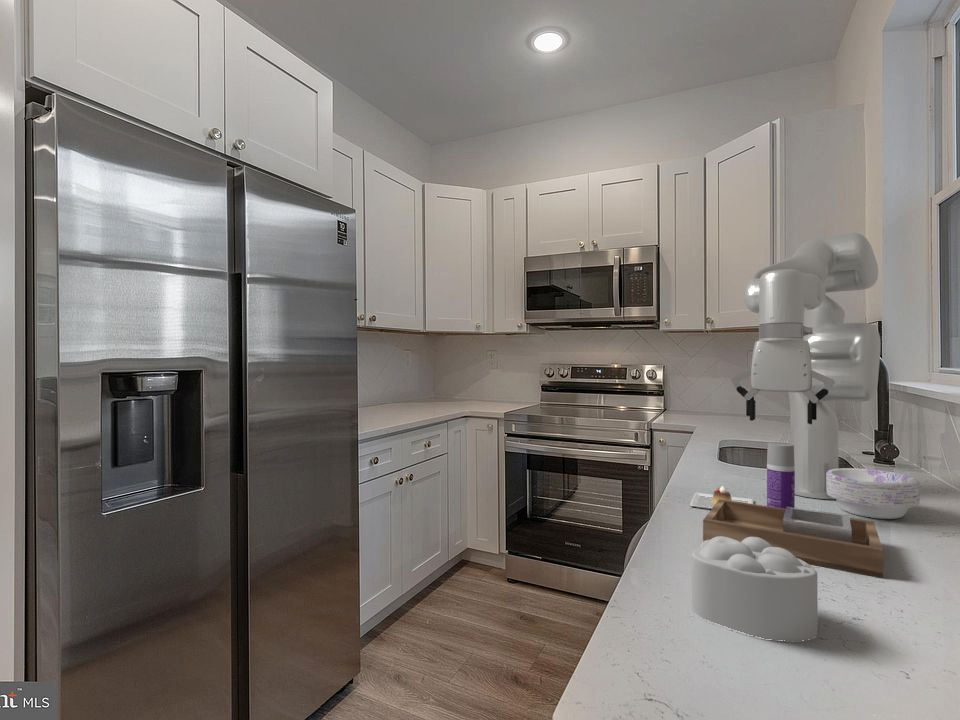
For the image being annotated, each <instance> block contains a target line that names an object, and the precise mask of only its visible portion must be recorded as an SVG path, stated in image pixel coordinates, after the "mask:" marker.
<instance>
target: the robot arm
mask: <svg viewBox="0 0 960 720" xmlns="http://www.w3.org/2000/svg"><path fill="white" fill-rule="evenodd" d="M877 262H878V261H877V258H876V256H875V253H874V249H873V247H872V245H871V243H870V241H869V239H868V238H867V237H865V235H863V234H861V233H857V232H850V233H843V234H837V235H829V236H822V237H816V238H812V239H809V240H806V241H804V242H803V243H802V244H801V245H799V247H798V248H797V249H796V251H795V252H793V254H792V256H790V257H788V258H785V259H783V260H780V261H779V262H776V263H773V264H770V265H769V266H766V267H763V268H761V269H759V270H758V271H756V272H755V273H754V274H753V275H752V277H751V278H750V280H749V281H748V283H746V287H745V289H744V297H743V298H744V299H743V300H744V303H745V306H746V308H747V309H748V310H749V311H750V312H752V313H755V314H758V340H757V341H756V340H755V342H754V345H753V350H752V356H751V368H750V369H748V370H746V371H744V372H741V373H740V374H737V375H735V376H733V377H731V378H730V381H731V382H732V384H733V386H734V388H735V389H736V392H737V393H738V394H740V395H741V396H742V398H744V399H745V402H746V403H745V405H746V406H745V407H746V408H745V409H746V410H745V414H746V416H747V417H749V421H754V420H756V405H757V404H756V400H755V396H756V395H757V394H758V393H759V392H771V393H773V392H774V393H775V392H777V393H788V399H789V409H790V410H789V412H790V413H789V414H790V415H789V417H790V419H789V420H790V421H789V422H790V424H789V425H790V426H789V427H790V428H789V429H790V430H789V431H790V432H789V433H790V434H789V435H790V438H789V439H790V440H789V441H790V443H789V444H793V445H794V463H795V495H796V496H799V497H804V498H805V497H806V498H810V499H820V500H836V498H833V497H831V496H829V495H828V494H827V489H826V476H827V475H826V472H827V471H829V470H832V469H839V420H838V417H837V415H836V413H835V412H834V411H833V410H832V409H831V408H830V407H829V405H828V404H827V403H826V402H828V401H829V402H833V401H834V402H835V401H836V402H851V403H852V402H856V403H860V402H861V403H863V402H868V401H871V400H872V399H874V397H875V395H876V394H877V390H878V383H879V374H880V373H879V372H880V371H879V370H880V362H881V361H880V360H881V357H880V356H881V346H882V345H881V336H880V333H879V330H878V328H877V327H876V326H875V325H873V324H871V323H867V322H845V316H846V315H845V314H846V313H845V311H844V308H843V307H842V306H841V305H840V304H839V303H838V302H836V301H835V300H834V299H833V298H831V297H830V296H828V295H827V293H837V292H840V293H841V292H849V291H862V290H867V289H870V288H872V287H874V285H875V284H876V283H877V281H878V277H879V266H878V263H877ZM748 378H750V386H751V389H750V390H749V391H748V389H746V388H745V387H743V384H742V381H744V380H746V379H748Z"/></svg>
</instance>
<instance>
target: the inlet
mask: <svg viewBox="0 0 960 720" xmlns="http://www.w3.org/2000/svg"><path fill="white" fill-rule="evenodd" d="M850 518H851V517H850V515H848V514H842V513H835V512H828V511H820V510H815V509H809V508H808V509H806V508H799V507H795V508H794V507H786V510H785V514H784V518H783V531H784V532H790V533H796V534H802V535H808V536H814V537H820V538H826V539H832V540H838V541H844V542H850V543H852V529H851V523H850Z"/></svg>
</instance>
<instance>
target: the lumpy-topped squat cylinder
mask: <svg viewBox="0 0 960 720" xmlns="http://www.w3.org/2000/svg"><path fill="white" fill-rule="evenodd" d="M818 609H819V608H818V572H817V570H816V569H815V568H814V567H813V565H811V564H808V563H806V562H804V561H803V560H801V559H798V558H796V557H795V556H794V555H793V554H792V553H791V552H789V551H787V550H785V549H783V548H779V547H772V546H771V545H770V544H769V543H768V542H767V541H765V540H764V539H761V538H759V537H747V538H745V539H744V540H743V541H742V542H740V541H737V540H734V539H732V538H728V537H724V536H717V537H714V538H712V539H711V540H705V541H703V540H702V542H701V543H700V547H698V548H697V549H695V550H693V551H692V553H691V611H692V610H693V612H694V613H696V614H697V615H699V616H700V617H702V618H703V619H706V620H709V621H711V622H714V623H717V624H720V625H722V626H726V627H728V628H731V629H734V630H737V631H740V632H744V633H746V634H749V635H753V636H757V637H761V638H764V639H772V640H783V641H784V640H785V641H802V640H808V639H812V640H814V639H815V638H814V637H816V636H817V637H818V631H819V630H818V628H819V627H818V622H819V621H818V619H819V618H818V616H819V615H818V611H819V610H818ZM817 637H816V638H817ZM813 638H814V639H813ZM808 641H809V640H808Z"/></svg>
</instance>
